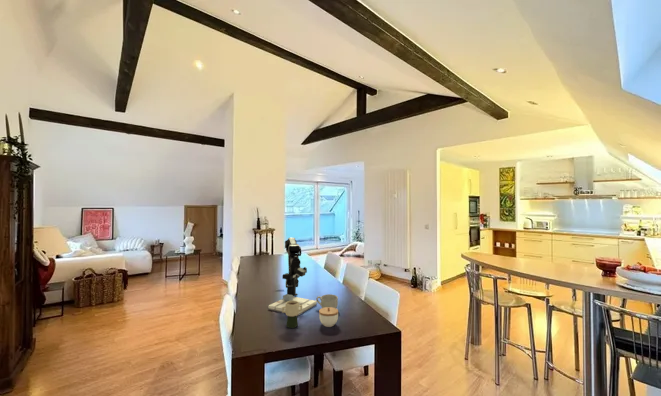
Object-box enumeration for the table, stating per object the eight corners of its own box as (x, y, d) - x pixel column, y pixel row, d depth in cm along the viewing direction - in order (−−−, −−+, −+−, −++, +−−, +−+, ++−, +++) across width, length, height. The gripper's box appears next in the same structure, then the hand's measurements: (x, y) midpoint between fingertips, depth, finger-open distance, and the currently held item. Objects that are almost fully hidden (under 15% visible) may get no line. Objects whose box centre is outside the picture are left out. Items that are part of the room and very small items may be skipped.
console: (289, 299, 204) (289, 295, 204) (316, 304, 194) (316, 300, 194) (268, 309, 185) (268, 305, 185) (297, 315, 174) (297, 311, 174)
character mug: (300, 323, 164) (301, 299, 164) (303, 328, 157) (303, 303, 157) (281, 325, 161) (281, 301, 161) (282, 330, 154) (282, 305, 154)
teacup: (340, 308, 187) (340, 295, 187) (332, 314, 177) (332, 300, 178) (321, 304, 194) (321, 292, 194) (313, 310, 184) (313, 297, 184)
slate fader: (286, 301, 197) (286, 294, 197) (292, 302, 195) (292, 295, 195) (283, 302, 194) (283, 295, 194) (289, 304, 191) (289, 296, 191)
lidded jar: (314, 325, 162) (314, 307, 162) (327, 319, 170) (327, 302, 170) (329, 330, 155) (329, 312, 155) (342, 324, 163) (342, 307, 163)
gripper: (296, 268, 186) (295, 292, 186) (311, 262, 202) (311, 284, 202) (281, 265, 191) (281, 289, 191) (298, 260, 207) (298, 282, 208)
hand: (294, 286), depth 198 cm, fingers closed
